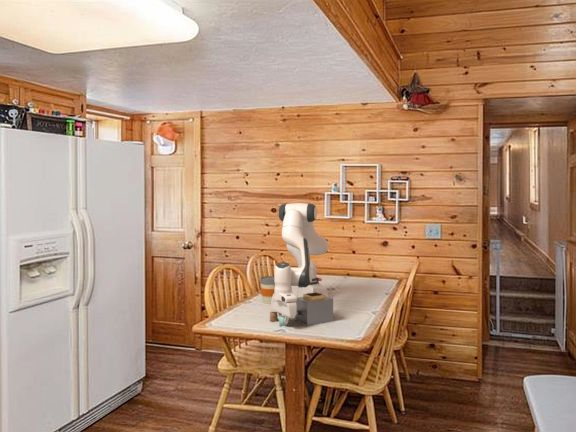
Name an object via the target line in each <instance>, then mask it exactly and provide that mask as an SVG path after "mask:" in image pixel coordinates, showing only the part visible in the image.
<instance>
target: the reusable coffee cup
mask: <svg viewBox="0 0 576 432" xmlns="http://www.w3.org/2000/svg"><path fill="white" fill-rule="evenodd" d="M259 283H260V288H259V289H260V295H261V299H262V303H263V304H264V305H271V299H272V296H273V293H274V288H275V282H274V275H265V276H261V277H260V278H259Z"/></svg>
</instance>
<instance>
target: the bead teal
mask: <svg viewBox="0 0 576 432" xmlns="http://www.w3.org/2000/svg"><path fill="white" fill-rule="evenodd" d="M284 320H285V315H282V316H279V319H278V322H279V323H278V324H279V325H278V326H279V327H282V326H285V327H287V326H288V324H285V323H284Z"/></svg>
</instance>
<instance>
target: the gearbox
mask: <svg viewBox="0 0 576 432" xmlns="http://www.w3.org/2000/svg"><path fill="white" fill-rule="evenodd" d="M330 297H331V296H330ZM330 297H327V296H325V295H323V294H320V293H317V292H314V293H306V294H303V297H298V298H297V301H295V302H296V305H297V313H296V316H295V317H294V321H296V322H297V323H300V324H302V325H305V326H307V327H308V326H313V325H314V324H315V325H319V324H320V323H321V324H325V323H326V322H327V323H331V322H334V298H330Z"/></svg>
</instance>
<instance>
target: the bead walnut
mask: <svg viewBox="0 0 576 432" xmlns="http://www.w3.org/2000/svg"><path fill="white" fill-rule="evenodd" d="M276 321H277V322H279V319H278V315H277V312H276V311H270V312H269V322H271V323H277V322H276Z"/></svg>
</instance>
